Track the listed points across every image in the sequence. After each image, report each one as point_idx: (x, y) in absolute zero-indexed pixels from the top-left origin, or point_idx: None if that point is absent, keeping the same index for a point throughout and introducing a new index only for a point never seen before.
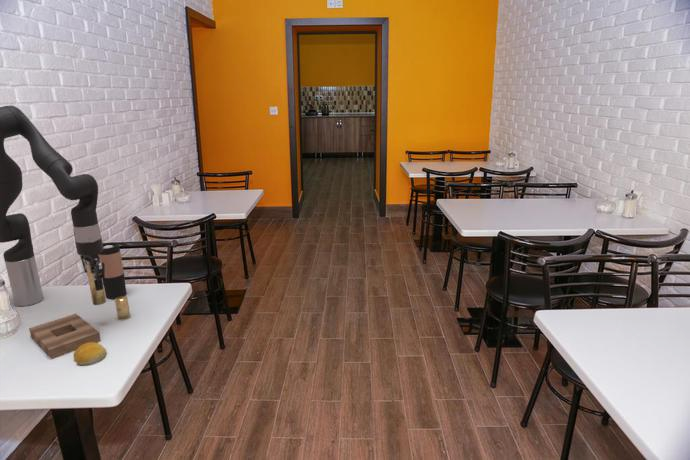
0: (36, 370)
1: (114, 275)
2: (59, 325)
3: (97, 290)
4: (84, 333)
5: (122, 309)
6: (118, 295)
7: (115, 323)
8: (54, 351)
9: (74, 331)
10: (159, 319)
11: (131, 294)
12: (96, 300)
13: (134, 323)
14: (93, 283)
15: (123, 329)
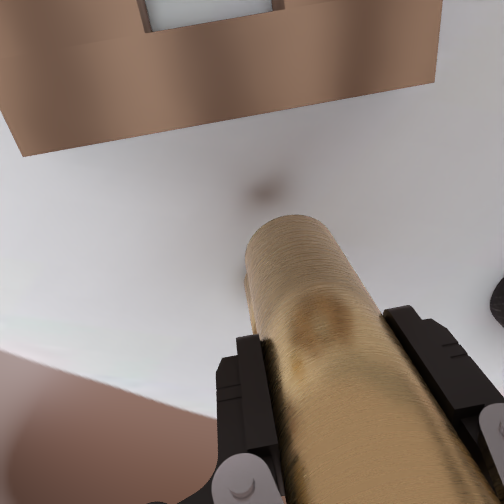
0: None
1: None
2: None
3: (238, 340)
4: (47, 68)
5: (251, 311)
6: (501, 303)
7: (229, 239)
8: None
9: (126, 7)
10: (150, 378)
11: (481, 336)
12: (255, 257)
13: (172, 303)
14: (285, 385)
15: (133, 257)
